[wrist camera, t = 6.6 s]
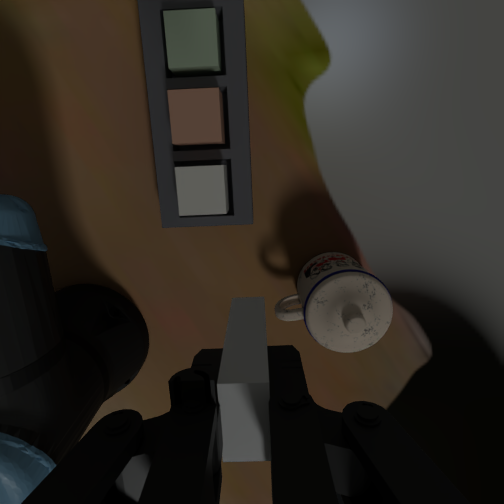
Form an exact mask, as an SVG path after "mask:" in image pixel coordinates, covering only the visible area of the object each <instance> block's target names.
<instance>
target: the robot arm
mask: <svg viewBox="0 0 504 504" xmlns="http://www.w3.org/2000/svg"><path fill="white" fill-rule="evenodd" d="M46 251H48V250H47V246H46V245H45V244H44V243H43V240H42V236H41V233H40V230H39V227H38V223H37V220H36V216H35V213H34V211H33V209H32V207H31V206H30V205H29V204H28V203H27V202H26V201H24V200H22V199H21V198H19V197H16V196H12V195H5V194H0V504H219V502H220V492H221V483H222V471H221V459H222V455H223V462H241V461H271V479H272V501H273V504H339V503H338V499H337V495H336V493H339V494H341V497H342V500H343V502H344V504H470V503H469V502H468V500H467V499H466V498H465V497H464V496H463V495H462V494H461V493H460V491H458V490H457V488H456V487H455V486H454V485H453V484H452V482H451V481H450V480H449V479H448V478H447V477H446V476H445V475H444V474H443V472H442V471H441V470H440V469H439V468H438V467H437V466H436V465H435V464H434V462H433V461H432V460H431V459H430V458H429V457H428V456H427V455H426V453H425V452H424V451H423V450H422V449H421V448H420V447H419V446H418V444H417V443H416V442H415V441H414V440H413V439H412V438H411V437H410V436H409V434H407V432H406V431H405V430H404V429H403V428H402V426H401V425H400V424H399V423H398V422H397V421H396V420H395V419H394V418H393V416H392V415H391V414H390V413H389V412H388V411H387V410H385V409H384V408H383V407H381V406H379V405H377V404H375V403H371V402H366V401H355V402H352V403H350V404H347V405H346V406H345V408H344V409H343V412H342V413H341V412H336V411H332V410H328V409H325V408H323V407H321V406H319V405H317V404H316V403H315V402H314V400H313V399H312V397H311V395H309V393H308V388H307V384H306V379H305V375H304V371H303V366H302V362H301V358H300V353H299V351H298V350H297V349H296V348H295V347H294V346H293V345H283V346H267V337H266V320H265V303H264V297H245V298H232V303H231V308H230V314H229V319H228V325H227V331H226V336H225V342H224V347H223V348H222V349H202V350H201V351H200V352H199V353H198V354H196V355H195V356H194V359H193V362H192V366H191V368H188V369H185V370H182V371H179V372H177V373H176V374H175V375H173V376H172V377H171V378H170V380H169V381H168V383H169V391H170V399H171V408H170V411H169V412H167V413H165V414H163V415H161V416H158V417H154V418H150V419H147V420H143V419H142V416H141V414H140V413H139V412H137V411H135V410H132V409H123V410H119V411H115V412H112V413H110V414H108V415H106V416H104V417H103V418H102V419H100V420H99V421H98V422H97V423H96V424H95V425H94V426H93V427H92V428H91V429H90V430H89V431H88V432H87V434H86V435H85V436H84V437H83V438H82V439H81V440H80V438H81V437H82V435H83V434H84V432H85V430H86V429H87V427H88V426H89V424H90V422H91V421H92V419H93V418H94V416H95V414H96V413H97V411H98V410H99V408H100V407H101V405H102V403H103V402H105V401H106V400H108V399H109V398H110V397H112V396H113V395H115V394H116V393H117V392H119V391H120V390H122V389H123V388H125V387H126V386H127V385H128V384H130V383H131V381H132V380H133V379H134V378H135V377H136V376H137V374H138V373H139V371H140V369H141V367H142V366H143V364H144V362H145V360H146V357H147V354H148V349H149V335H148V330H147V327H146V324H145V321H144V319H143V317H142V316H141V314H140V313H139V311H138V310H137V309H136V307H135V306H134V305H133V304H132V303H131V302H130V301H129V300H127V299H126V298H125V297H124V296H122V295H121V294H119V293H117V292H115V291H113V290H111V289H109V288H106V287H102V286H98V285H92V284H78V285H72V286H68V287H65V288H63V289H61V290H59V291H57V292H54V288H53V284H52V279H51V274H50V269H49V264H48V260H47V255H46ZM79 440H80V441H79Z"/></svg>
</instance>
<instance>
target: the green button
mask: <svg viewBox="0 0 504 504" xmlns="http://www.w3.org/2000/svg"><path fill="white" fill-rule="evenodd" d="M163 15H164V25H165V36H166V46H167V57H168V68H169V69H170V70H171V71H172V72H173V74H174V75H175V76H176V77H193V76H212V75H222V64H221V47H220V30H219V21H218V17H217V14H216V10H215V8H207V9H189V10H171V11H163Z"/></svg>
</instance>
